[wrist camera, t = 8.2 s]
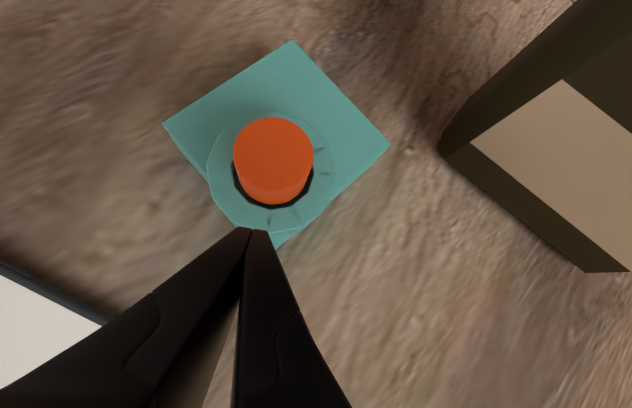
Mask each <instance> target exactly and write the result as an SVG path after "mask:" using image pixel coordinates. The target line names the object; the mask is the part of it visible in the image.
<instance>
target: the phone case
mask: <svg viewBox="0 0 632 408" xmlns="http://www.w3.org/2000/svg"><path fill="white" fill-rule="evenodd" d="M113 319H115V317H113V316H111V315H109V314H107V313H105V312H103V311H101V310H99V309H97V308H95V307H93V306H91V305H90V304H88V303H86V302H84V301H82V300H80V299H78V298H76V297H74V296H72V295H70V294H68V293H66V292H64V291H62V290H60V289H58V288H56V287H54V286H52V285H50V284H48V283H46V282H44V281H42V280H40V279H38V278H36V277H34V275H33V274H31V273H29V272H27V271H25V270H23V269H21V268H19V267H17V266H15V265H13V264H11V263H9V262H7V261H5V260H2V259H0V389H1V388H3V387H5V386H7V385H9V384H11V383H12V382H14V381H16V380H18V379H19V378H21V377H23V376H24V375H26V374H27V373H29V372H31V371H32V370H34V369H35V368H37V367H39V366H40V365H42V364H43V363H45V362H47V361H48V360H50V359H51V358H53V357H55V356H56V355H58V354H60V353H61V352H63V351H64V350H66V349H68V348H69V347H71V346H72V345H74V344H76V343H77V342H79V341H80V340H82V339H84V338H85V337H87V336H88V335H90V334H92V333H93V332H95V331H96V330H98V329H99V328H101V327H102V326H104V325H105V324H107V323H108V322H110V321H111V320H113Z"/></svg>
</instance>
